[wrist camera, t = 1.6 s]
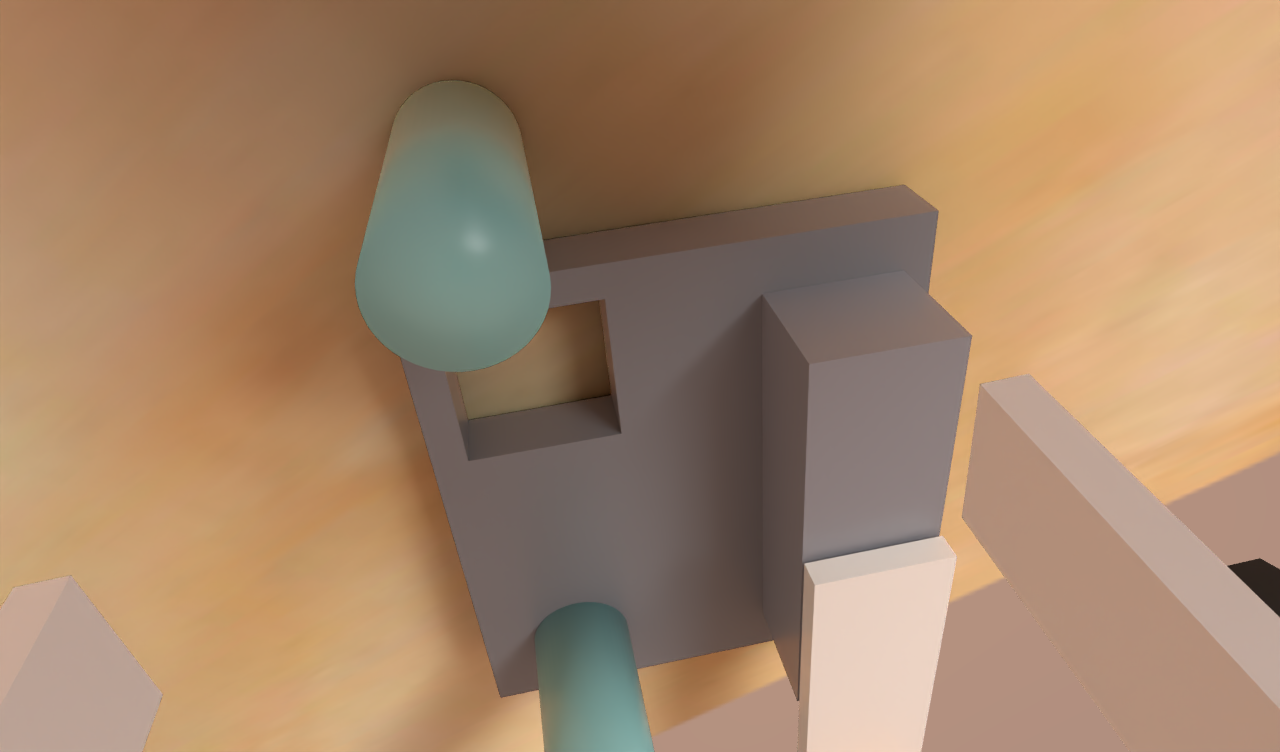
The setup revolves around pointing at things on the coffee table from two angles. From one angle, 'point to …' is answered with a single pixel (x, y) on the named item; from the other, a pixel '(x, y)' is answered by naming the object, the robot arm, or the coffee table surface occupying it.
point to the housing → (702, 448)
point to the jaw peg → (454, 235)
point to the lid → (872, 646)
